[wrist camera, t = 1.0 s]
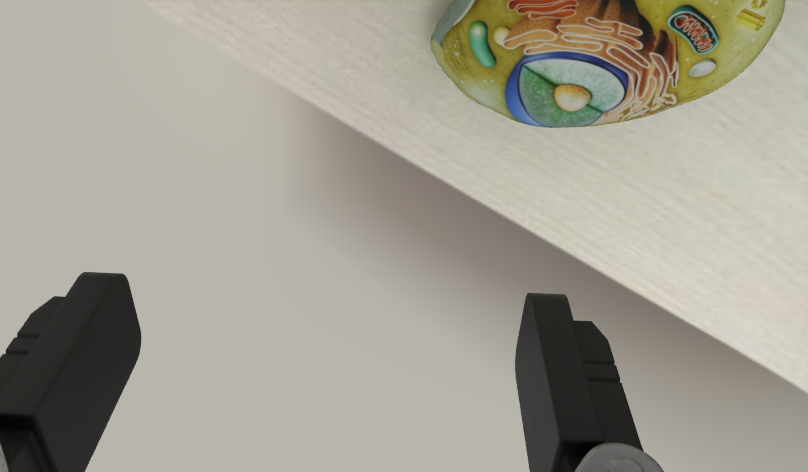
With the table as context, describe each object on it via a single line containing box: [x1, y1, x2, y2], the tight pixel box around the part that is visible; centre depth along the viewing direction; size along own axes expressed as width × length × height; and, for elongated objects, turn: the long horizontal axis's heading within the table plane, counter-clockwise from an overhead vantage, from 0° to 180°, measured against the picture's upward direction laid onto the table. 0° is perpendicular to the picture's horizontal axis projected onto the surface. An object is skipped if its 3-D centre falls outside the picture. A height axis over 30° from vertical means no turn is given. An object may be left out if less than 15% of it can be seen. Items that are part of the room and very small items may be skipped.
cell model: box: [431, 0, 785, 128], centre depth 31 cm, size 11×8×15 cm
